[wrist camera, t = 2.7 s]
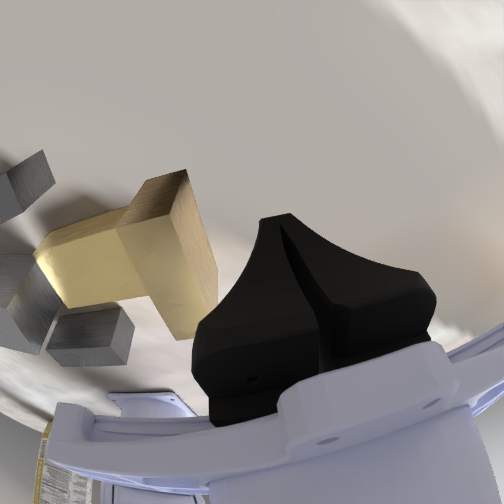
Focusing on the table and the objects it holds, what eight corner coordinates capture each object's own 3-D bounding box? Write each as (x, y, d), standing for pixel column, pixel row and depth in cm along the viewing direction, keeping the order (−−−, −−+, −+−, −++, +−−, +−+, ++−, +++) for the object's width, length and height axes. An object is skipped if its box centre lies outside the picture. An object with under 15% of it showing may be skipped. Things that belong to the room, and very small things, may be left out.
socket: (134, 327, 18) (126, 364, 15) (73, 333, 18) (62, 366, 15) (42, 149, 10) (6, 172, 8) (-16, 187, 10) (-47, 213, 8)
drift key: (217, 270, 16) (218, 334, 12) (87, 295, 16) (65, 350, 12) (185, 169, 12) (169, 214, 8) (42, 217, 12) (1, 266, 9)
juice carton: (43, 419, 32) (29, 527, 12) (56, 416, 30) (42, 540, 10) (83, 439, 37) (76, 541, 17) (101, 437, 35) (96, 552, 15)
